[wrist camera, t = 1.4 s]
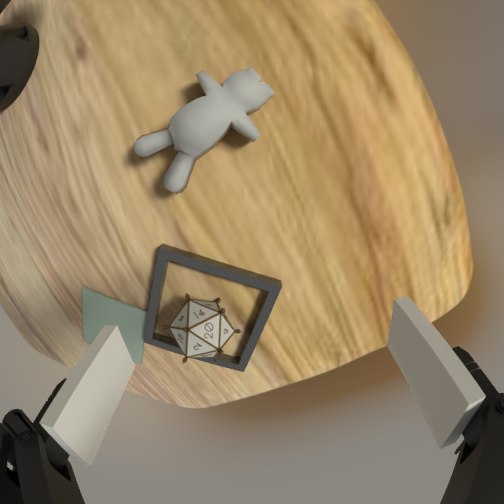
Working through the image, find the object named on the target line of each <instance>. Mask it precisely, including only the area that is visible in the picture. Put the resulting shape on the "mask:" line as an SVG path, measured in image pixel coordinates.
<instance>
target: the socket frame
mask: <svg viewBox="0 0 504 504" xmlns="http://www.w3.org/2000/svg"><path fill="white" fill-rule="evenodd" d="M169 261H172V262H175V263H178V264H181V265H184V266H187V267H190V268H193V269H197V270H200V271H203V272H206V273H209V274H212V275H216V276H219V277H222V278H225V279H229V280H232V281H235V282H238V283H242V284H245V285H248V286H252V287H255V288H259V289H262V290H265V291H267V292H266V294H265V297H264V299H263V302H262V304H261V306H260V309H259V311H258V314H257V316H256V318H255V321H254V323H253V326H252V328H251V330H250V333H249V335H248V338H247V340H246V342H245V345H244V347H243V349H242V352H241V354H240V356H239V358H237V357H233V356H229V355H226V354H223V355H222V354H221V355H220V354H219V353H218V354H217V355H216V357H217V358H218V362H216V361H214V357H203V358H194V359H197V360H201V361H204V362H208V363H211V364H215V365H219V366H222V367H226V368H230V369H234V370H238V371H242V372H244V370H245V368H246V366H247V364H248V362H249V359H250V357H251V355H252V353H253V351H254V349H255V346H256V344H257V342H258V340H259V338H260V335H261V333H262V331H263V329H264V326H265V324H266V322H267V320H268V317H269V315H270V313H271V311H272V308H273V306H274V304H275V301H276V299H277V297H278V295H279V292H280V290H281V288H282V283H281V280H277V279H274V278H271V277H267V276H264V275H261V274H258V273H254V272H251V271H248V270H245V269H241V268H238V267H235V266H232V265H228V264H225V263H222V262H219V261H216V260H212V259H209V258H206V257H203V256H200V255H197V254H193V253H190V252H187V251H184V250H181V249H178V248H175V247H172V246H168V245H165V244H163V245H162V246H161V247H160V248H159V253H158V258H157V263H156V268H155V273H154V278H153V284H152V290H151V296H150V302H149V308H148V314H147V321H146V328H145V336H144V342H145V343H148V344H151V345H154V346H157V347H159V348H162V349H165V350H168V351H171V352H175V353H178V354H181V355H184V354H183V352H182V350H181V348H180V347H179V345H178V343H177V342H176V340H175V339H172V338H169V337H166V336H163V335H160V334H157V333H155V330H156V324H157V318H158V312H159V307H160V302H161V296H162V291H163V286H164V281H165V277H166V272H167V267H168V263H169ZM184 356H185V355H184Z"/></svg>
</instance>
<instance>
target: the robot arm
mask: <svg viewBox="0 0 504 504" xmlns="http://www.w3.org/2000/svg"><path fill="white" fill-rule="evenodd" d="M10 1H11V0H0V14H1V13H2V11H3V10H4V9H5V7H6V6H7V5H8V4H9V2H10ZM38 50H39V35H38V32H37V30H36V29H35V28H34V27H32V26H29V25H27V24H21V23H20V24H11V25H4V26H0V110H1V109H4V108H6V107H7V106H9V105H10V104H11V103H12V102H13V101H14V100H15V99H16V98H17V96H18V95H19V94H20V92H21V91H22V90H23V88H24V86H25V85H26V83H27V81H28V79H29V77H30V75H31V73H32V70H33V68H34V65H35V62H36V59H37V55H38ZM387 346H388V348H389V350H390V352H391V353H392V355H393V357H394V359H395V361H396V362H397V364H398V366H399V368H400V370H401V372H402V374H403V375H404V377H405V379H406V381H407V383H408V385H409V387H410V389H411V391H412V393H413V395H414V396H415V398H416V400H417V402H418V404H419V406H420V408H421V410H422V412H423V415H424V417H425V419H426V421H427V423H428V425H429V427H430V429H431V431H432V434H433V436H434V438H435V440H436V442H437V444H438V447H439V449H441V448H443V447H446V446H448V445H450V444H452V443H454V442H456V441H457V439H458V438H459V437H460V435H461V434H463V436H464V438H465V439H464V440H463V442H462V443H461V444H460V446H459V447H458V448H457V449H456V451H455V454H457V453H458V452H459V451H460V452H459V455H458V459H457V462H456V465H455V467H454V470H453V473H452V476H451V479H450V481H449V484H448V486H447V489H446V491H445V494H444V496H443V498H442V500H441V503H440V504H504V393H498V392H497V390H496V389H495V387H494V386H493V385H492V383H491V382H490V381H489V379H488V378H487V377H486V375H485V374H484V373H483V371H482V370H481V369H479V366H478V365H477V363H475V362H474V360H473V358H472V357H471V356H470V355H469V353H468V352H466V351H465V350H463V349H462V348H460V347H459V346H458V347H455V348H453V349H451V347H450V346H449V345H448V344H447V342H446V341H445V340H444V338H443V337H442V336H441V335H440V333H439V332H438V331H437V330H436V329H435V327H434V326H433V325H432V324H431V322H430V321H429V320H428V319H427V318H426V316H425V315H424V314H423V313H422V312H421V310H420V309H419V308H418V307H417V306H416V305H415V304H414V302H413V301H412V300H411V299H410V298H409V297H403V298H397V299H394V306H393V313H392V319H391V325H390V331H389V337H388V342H387ZM134 368H135V365H134V363H133V360H132V358H131V356H130V354H129V352H128V350H127V347H126V345H125V343H124V340H123V338H122V336H121V333H120V331H119V328H118V326H117V325H105V326H104V327H103V328H102V330H101V331H100V332H99V334H98V335H97V337H96V338H95V339H94V341H93V342H92V343H91V345H90V346H89V348H88V349H87V350H86V352H85V353H84V355H83V356H82V358H81V359H80V360H79V362H78V363H77V365H76V366H75V368H74V369H73V371H72V372H71V374H70V376H69V377H68V378H67V379H66V378H65V379H64V380H63V381H61V382H60V383H59V384H58V385H57V386H56V388H55V389H54V391H53V392H52V395H50V397H49V398H48V401H46V403H45V405H44V406H43V408H42V409H41V411H40V412H39V414H38V416H37V417H36V419H35V421H34V422H33V423H32V422H31V421H30V420H29V418H28V417H27V416H26V415H25V414H24V412H23V411H22V410H19V409H14V410H11V411H10V412H8V413H7V414H6V415H5V417H4V419H3V422H2V424H1V423H0V504H85V502H84V500H83V497H82V495H81V492H80V489H79V487H78V484H77V481H76V478H75V475H74V472H73V469H72V466H71V464H70V462H69V461H68V460H67V459H68V457H69V455H70V456H71V457H72V458H73V459H74V460H75V461H76V462H77V463H80V464H83V465H87V466H89V467H91V465H92V463H93V460H94V458H95V455H96V453H97V450H98V448H99V446H100V443H101V441H102V439H103V436H104V434H105V432H106V429H107V427H108V424H109V422H110V420H111V418H112V416H113V413H114V411H115V409H116V407H117V405H118V402H119V400H120V398H121V396H122V394H123V391H124V389H125V387H126V385H127V383H128V381H129V379H130V377H131V375H132V373H133V371H134ZM7 461H8V462H9V463H10V464H11V465H12V466H13V470H10V469H9V468H8V467H7Z"/></svg>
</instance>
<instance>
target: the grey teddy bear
mask: <svg viewBox="0 0 504 504" xmlns="http://www.w3.org/2000/svg"><path fill="white" fill-rule="evenodd" d="M196 75H197V78H198V81H199V83H200V85H201V87H202V89H203V91H204V93H205V95H206V96H203V97H200V98H197V99H195V100H193V101H192V102H190V103H188V104H187V105H185V106H184V107H182V108H181V109H180V110H179V111H178V112H177V113H176V114H175V115H174V116H173V117H172V119H171V121H170V124H169V126H168V128H167V129H163V130H159V131H156V132H152V133H149V134H146V135H142V136H141V137H139V138H138V139H137V140H136V143H135V145H134V149H135V153H136V154H137V155H139V156H141V157H148V156H150V155H151V154H153V153H155V152H157V151H159V150H161V149H163V148H165V147H167V146H169V145H171V144H173V147H174V149H175V150H176V151H178V154H177V155H176V157H175V159H174V160H173V162H172V163H171V165H170V167H169V168H168V170H167V172H166V173H165V175H164V179H163V183H164V186H165V188H166V189H167V190H169V191H171V192H174V193H176V194H177V193H181V192H183V191H184V189H185V188H186V187H187V184H188V181H189V178H190V175H191V173H192V170H193V167H194V164H195V162H196V160H197V159H199V158H200V157H202V156H203V155H204V154H206V153H207V152H208V151H210V150H211V149H213V148H214V147H215V146H216V145H217V144H218V143H219V142H220V141H221V140H222V138H223V137H224V136H225V135H226V134H227V132H228V131H229V129H230V128H233V129H234V130H236V131H237V132H239V133H240V134H242V135H243V136H245V137H246V138H248V139H249V140H251V141H252V142H254V141H255V140H256V139H257V138H258V137H259V136H260V133H259V132H258V130H257V129H256V127H255V126H254V124H253V123H252V121H251V120H250V119H249V117H248V116H247V115H250V114H252V113H254V112H256V111H257V110H258V109H259V108H260V107H261V106H262V105H263V104H264V103H265V102H266V101H267V100H268V99H269V98H271V97H272V96H273V95H274V93H275V92H274V91H273V90H272V89H271V88H270V87H269V85H268V84H267V83H266V82H259V80H260V78H261V77H260V76H259V74H258V73H257V72H256V71H255V70H254V69H253V68H252V67H249V68H248V69H246V70H240V71H237V72H235V73H232V74H231V75H230V76H229V77H228V78H227V79H226V81H225V83H224V84H223V86H221V85H219V84H218V83H217V82H216V81H215V80H214V79H212V78H211V77H210V76H209V75H208V74H206V73H205V72H204V71H201V72H199V73H198V74H196Z"/></svg>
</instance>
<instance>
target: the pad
mask: <svg viewBox="0 0 504 504" xmlns="http://www.w3.org/2000/svg"><path fill="white" fill-rule="evenodd" d="M147 314H148V311H146V310H143V309H141V308H138V307H135V306H132V305H130V304H127V303H124V302H122V301H119V300H116V299H114V298H111V297H109V296H106V295H104V294H101V293H99V292H96V291H94V290H92V289H89V288H87V287H84V286H83V287H82V318H83V340H84V341H86V342H88V343H90V344H91V343H92V342H93V341H94V339H95V338H96V337H97V335H98V334H99V332H100V331H101V330H102V328H103V327H104V326H105V325H117V326H118V328H119V331H120V333H121V336H122V338H123V340H124V343H125V345H126V347H127V350H128V352H129V354H130V356H131V358H132V360H133V361H134V362H137V363H140V364H141V363H142V355H143V346H144V336H145V328H146V321H147Z"/></svg>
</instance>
